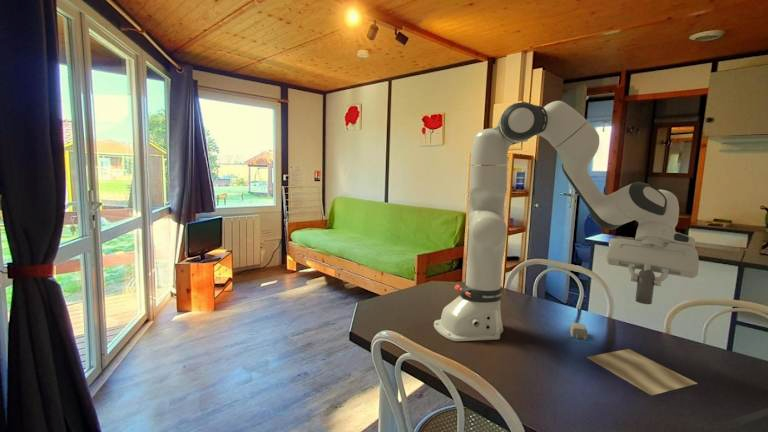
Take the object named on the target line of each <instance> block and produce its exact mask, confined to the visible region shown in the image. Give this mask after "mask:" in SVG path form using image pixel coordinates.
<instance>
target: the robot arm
mask: <svg viewBox="0 0 768 432" xmlns="http://www.w3.org/2000/svg"><path fill="white" fill-rule="evenodd" d="M535 136H539V137H542V138H544V139H545V140H546V141H547V142H548V143H549V144H550V145H551V146H552V147H553V148H554V149H555V150H556V152H557V153H558V155H559V157H560V159H561V162H562V163H561V169H562V172H563V174H564V176H565V177H566V179H567V180H568V182H569V184H570V185H571V186H572V187H573V189H574V191H575V192H576V193H577V195H578V196H579V198H580V199H581V200H582V202H583V204H584V205H585V207H586V208H587V209H588V212H589V213H590V216H591V219H592V220H593V221H594V223H596V224H597V225H598V226H599V227H601V228H603V229H605V230H609V231H610V230H616V229H618V228H619V227H621V226H623V225H625V224H627V223H631V222H633V221H635V222H637V223H638V226H637V229H636V233H635V237H627V236H622V235H617V236H613V237H611V238H610V239H609V241H608V249H607V250H606V254H605V259H606V263H607V264H608V265H609V266H616V267H622V268H627V269H628V271H629V274H630V275H631V276H630V281H631V282H634V283H637V281H638V274H639V273H637V272H636V273H635V271H636V270H640V271H641V270H643V269H644V264H651V271H652V272H653V273H659V274H661V275H659V276H655V279H654V287H656V286H657V287H662V282H663V281H665V280H666V279H667V278H669V276H670V275H671V276H676V277H683V278H689V279H693V278H696V277H698V275H699V267H700V265H699V261H700V260H699V252H698V250H697V248H696V241H695V238H694V237H693V236H689V235H686V234H683V233H680V232H677V231H676V227H677V225H678V223H679V217H680V216H679V215H680V205H679V204H680V203H679V200H678V198H677V196H676V195H675V194H674V193H673V192H671V191H669V190H665V189H658V188H656V187H654V186H653V185H650V184H649V183H647V182H646V183H645V182H642V181H635V182H633V183H630V184H628V185H625V186H623V187H621V188H620V189H617V190H616V191H614V192H612V193H610V194H604V193H602V192H601V190H600V189H599V188H598V186H597V184H596V183H595V182H594V180H593V179H592V177H591V176H590V174H589V165H590V164H591V161H592V160H593V158H594V157H595V155H596V154H597V153H598V150H599V147H600V135H599V133H598V131H597V130H596V128H594V126H593V125H592V123H590V122H589V121H588V119H586V118H585V117H584V116H583V115H582V114H581V113H579V112H578V111H577V110H576V109H574V107H572V106H570V105H569V104H568V103H566V102H564V101H562V100H555V101H551V102H550V103H547V104H546V105H544V106H541V105H537V104H536V105H535V104H534V103H533V104H532V103H529V102H524V101H523V102H515V103H513V104H511V105H509V106H508V107H507V108H505V110H504V111H503V112H502V114H501V116H500V118H499V120H498V123H497V125H496V126H495V127H493V128H485V129H482V130H480V131H477V133H476V134H475V135H474V137H473V140H472V141H473V142H472V146H471V152H470V163H469V164H470V166H469V195H468V196H469V199H468V200H469V201H468V241H467V242H468V243H467V256H466V269H465V270H466V272H465V283H464V284H463V286H461V285H460V284H456V285H455V286H454V290H455V291H456V292H458V293H459V295H458V296H457V297H456V298H455V299H454V300H452V301H451V302H450V303H447V305H445V306H444V308H443V310H442V312H441V317H440V319H436V320H434V322H433V327H434V329H435V330H436V331H437V333H438V334H440V335H441V336H443V337H444V338H446V339H448V340H449V341H453V342H471V341H473V342H474V341H491V340H492V341H493V340H500V339H501V334H502V333H503V332H504V327H503V323H502V322H503V321H502V315H501V300H502V295H503V291H502V290H503V288H502V287H503V286H501V285H502V274H503V273H502V272H503V261H504V255H505V249H506V242H507V241H506V240H507V231H508V230H507V228H508V227H507V223H506V222H505V220H504V210H505V202H506V201H505V199H506V193H507V181H508V179H507V175H508V173H507V172H508V153H509V150H510V147H511V146H513V145H516V144H519V143H523V142H526V141H529V140H530V139H531V138H533V137H535Z"/></svg>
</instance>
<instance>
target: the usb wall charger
mask: <svg viewBox="0 0 768 432" xmlns="http://www.w3.org/2000/svg"><path fill="white" fill-rule="evenodd" d="M569 331H570V335H571V338H576V339H577V340H578V339H584V341H586V340H587V339H588V329H587V328H586V326H585V324H584V323H578V322H571V323H570V330H569Z"/></svg>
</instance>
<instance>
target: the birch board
mask: <svg viewBox="0 0 768 432" xmlns="http://www.w3.org/2000/svg"><path fill="white" fill-rule="evenodd" d="M586 358H587V359H588V360H590V361H592V362H594V363H596V364H597V365H599V366H600V367H602V368H604V369H605V370H607V371H609V372H610V373H612V374H614V375H616V376H617V377H619V378H620V379H622V380H623V381H626V382H628V383H629V384H630V385H632V386H634V387H637V389H639V390H641V391H643V392H644V393H647V394H648V395H650V396H655V395H659V394H663V393H666V392H670V391H674V390H678V389H683V388H686V387H690V386H693V385H698V384H699V383H698V382H695V381H694V380H692V379H690V378H688V377H686V376H683V374H680V373H678V372H676V371H674V370H672V369H670V368H668V367H665V366H664V365H662V364H660V363H658V362H656V361H655V360H651V359H650V358H648V357H645V356H644V355H642V354H640V353H638V352H636V351H634V350H632V349H630V348H626V349H621V350H616V351H611V352H605V353H600V354H596V355H590V356H586Z"/></svg>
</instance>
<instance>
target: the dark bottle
mask: <svg viewBox="0 0 768 432" xmlns="http://www.w3.org/2000/svg"><path fill="white" fill-rule="evenodd" d="M637 274H638V281H637V282H636V290H635V302H637V303H639V304H643V305H652V304H653V296H654V287H655V285H654V279H655V277H656V276H655V275H656V274H655V272H652V271H651V264H644V269H643V270H640V271H638V273H637Z"/></svg>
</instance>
